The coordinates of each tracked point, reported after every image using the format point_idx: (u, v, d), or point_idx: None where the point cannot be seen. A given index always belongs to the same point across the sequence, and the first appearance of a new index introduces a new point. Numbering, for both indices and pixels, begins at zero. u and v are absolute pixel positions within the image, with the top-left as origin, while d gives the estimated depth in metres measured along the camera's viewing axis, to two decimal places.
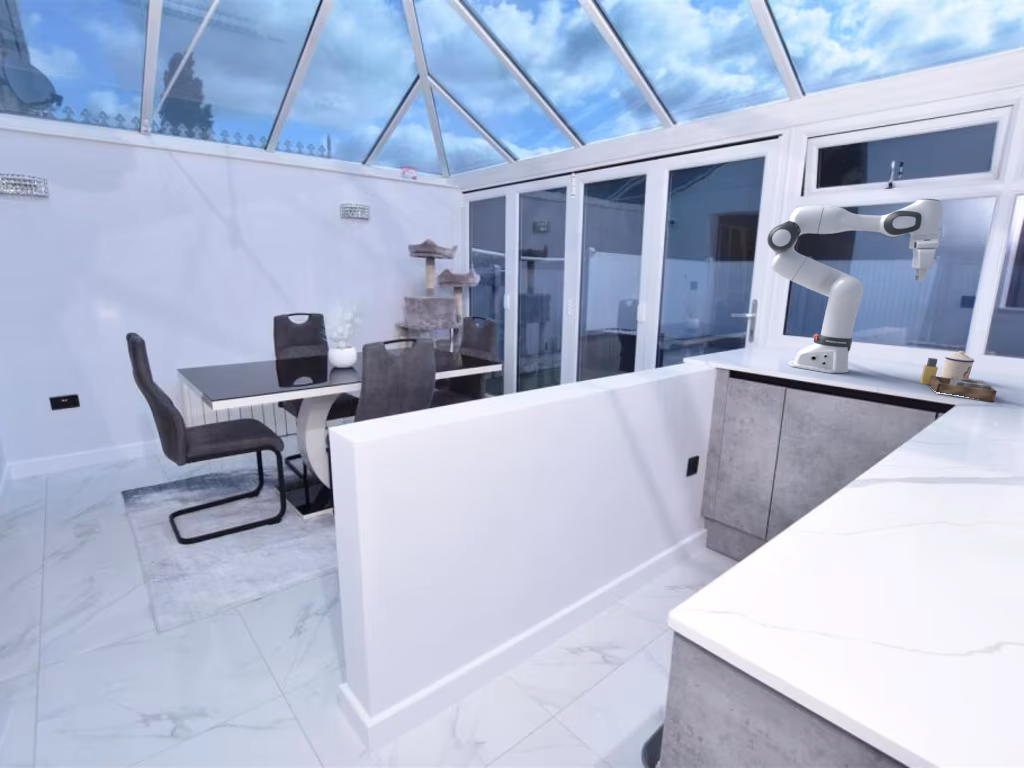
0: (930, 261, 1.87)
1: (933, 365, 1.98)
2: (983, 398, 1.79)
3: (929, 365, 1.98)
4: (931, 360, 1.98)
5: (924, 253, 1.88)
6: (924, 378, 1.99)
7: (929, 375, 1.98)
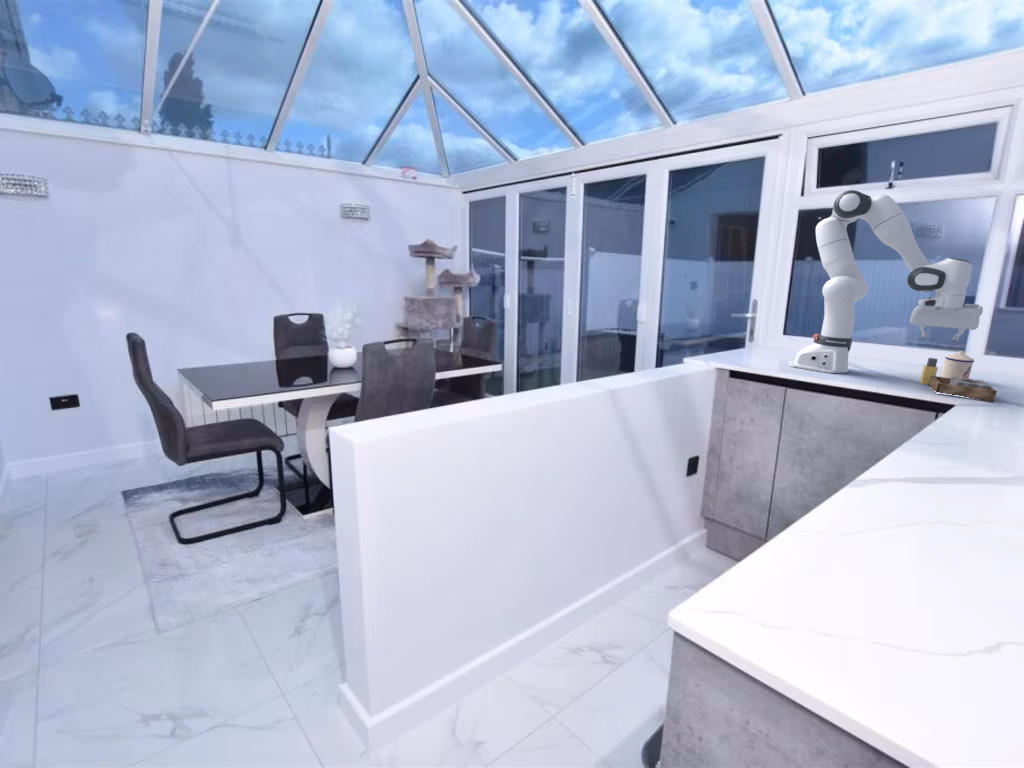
0: (912, 317, 1.98)
1: (933, 365, 1.98)
2: (983, 398, 1.79)
3: (929, 365, 1.98)
4: (931, 360, 1.98)
5: (914, 309, 1.98)
6: (924, 378, 1.99)
7: (929, 375, 1.98)
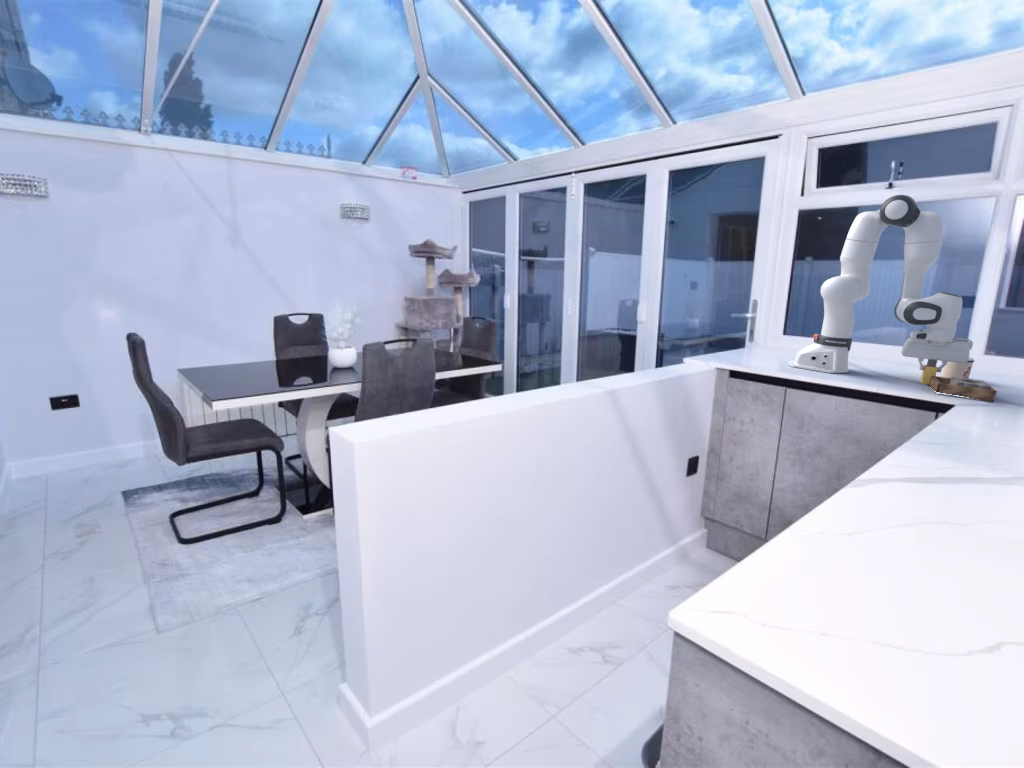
0: (903, 349, 2.01)
1: (933, 365, 1.98)
2: (983, 398, 1.79)
3: (929, 365, 1.98)
4: (931, 360, 1.98)
5: (905, 341, 2.02)
6: (924, 378, 1.99)
7: (929, 375, 1.98)
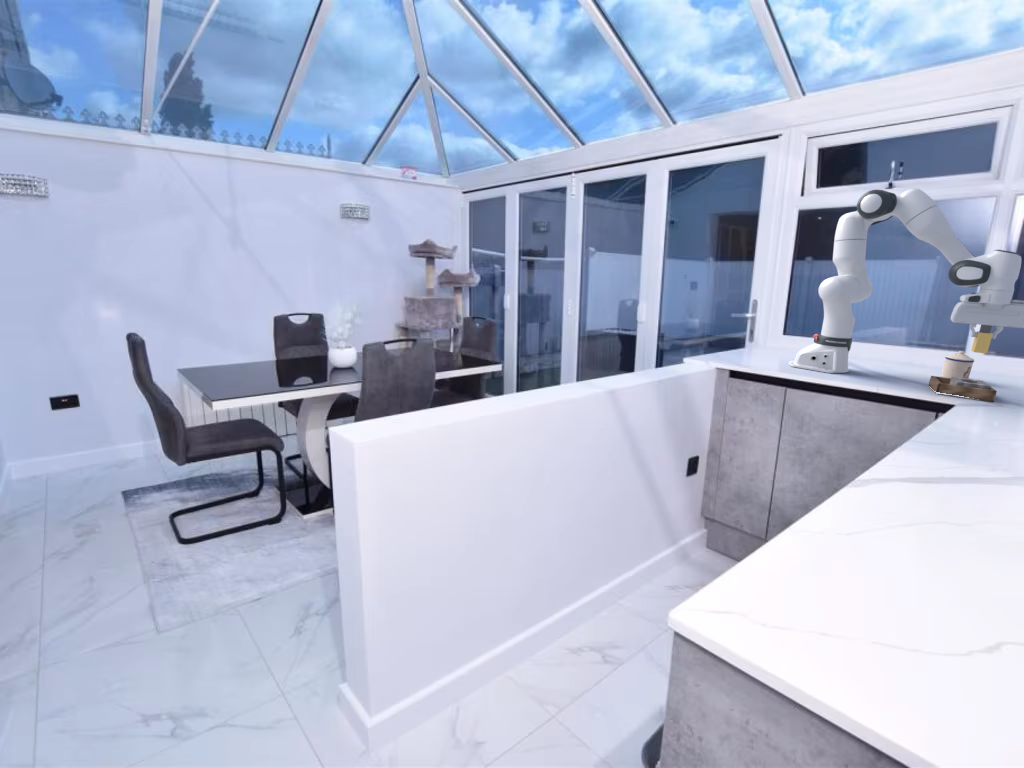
0: (953, 314, 1.83)
1: (987, 331, 1.79)
2: (983, 398, 1.79)
3: (982, 331, 1.80)
4: (985, 325, 1.79)
5: (955, 306, 1.84)
6: (977, 346, 1.81)
7: (982, 342, 1.80)
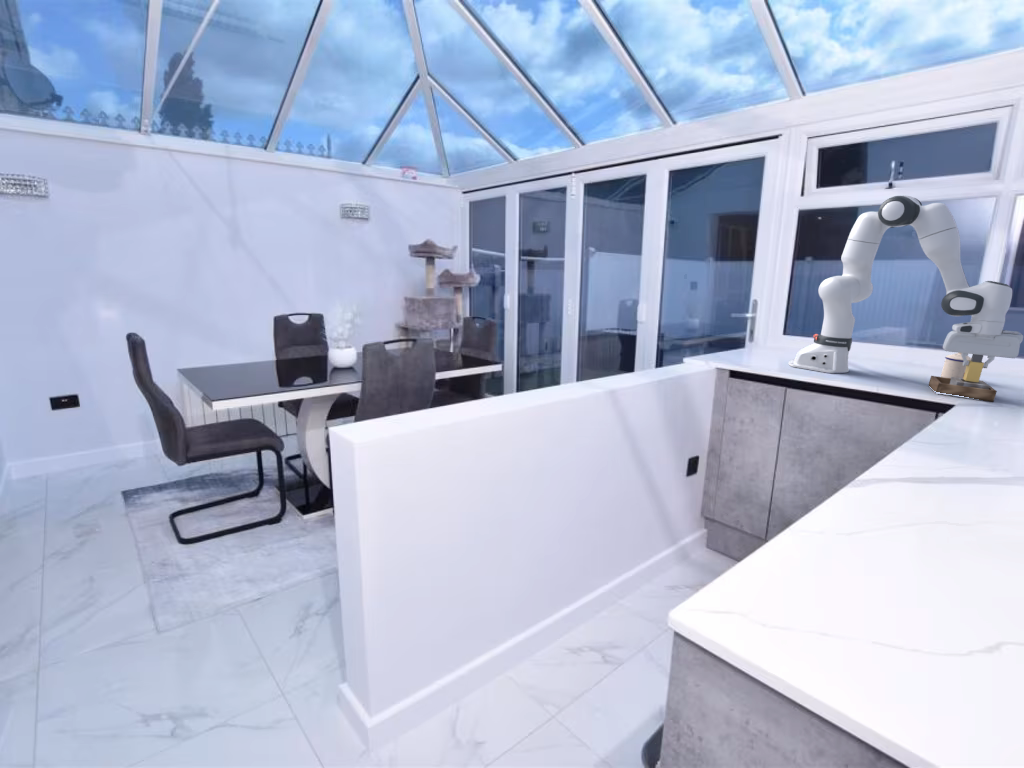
0: (945, 343, 1.86)
1: (979, 360, 1.82)
2: (983, 398, 1.79)
3: (974, 360, 1.83)
4: (976, 355, 1.82)
5: (948, 335, 1.86)
6: (968, 374, 1.84)
7: (974, 371, 1.83)
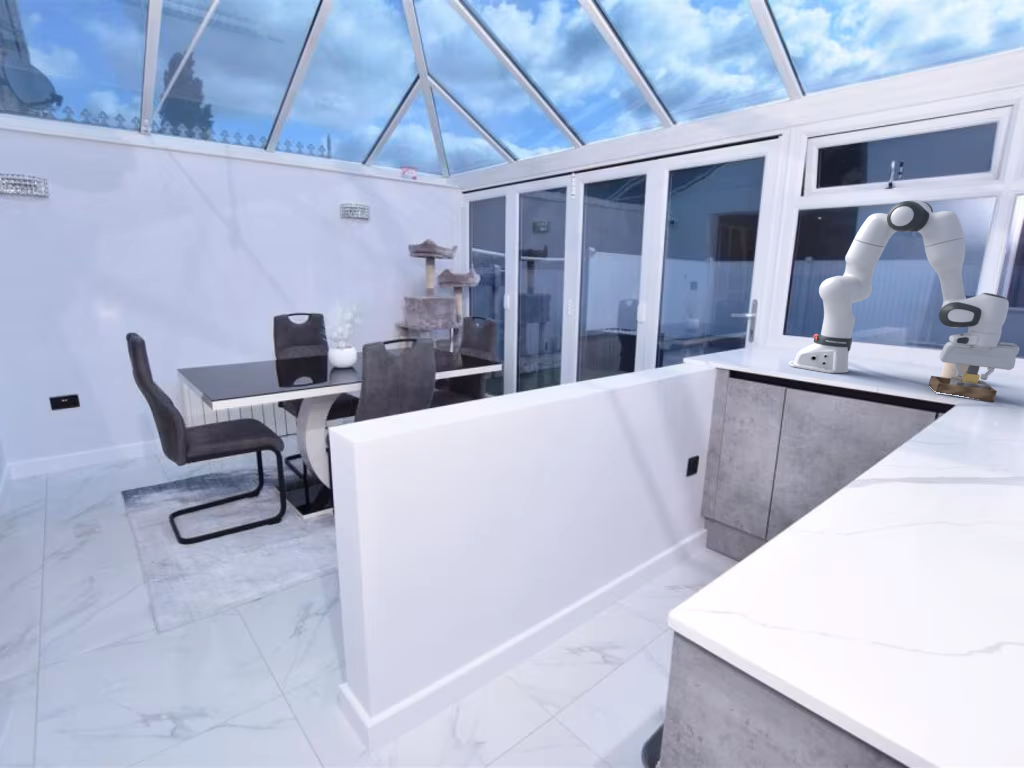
0: (942, 354, 1.87)
1: (975, 373, 1.83)
2: (983, 398, 1.79)
3: (970, 372, 1.84)
4: (972, 367, 1.83)
5: (944, 346, 1.87)
6: None
7: None
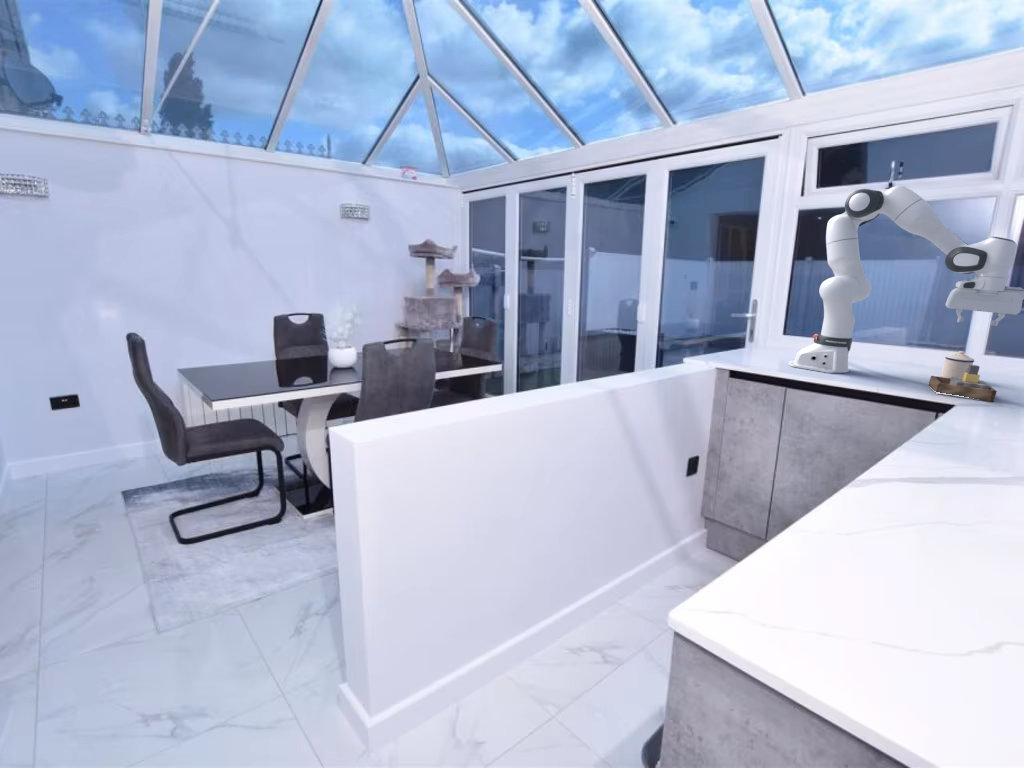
0: (948, 300, 1.86)
1: (975, 373, 1.83)
2: (983, 398, 1.79)
3: (970, 372, 1.84)
4: (972, 367, 1.83)
5: (951, 292, 1.87)
6: None
7: None
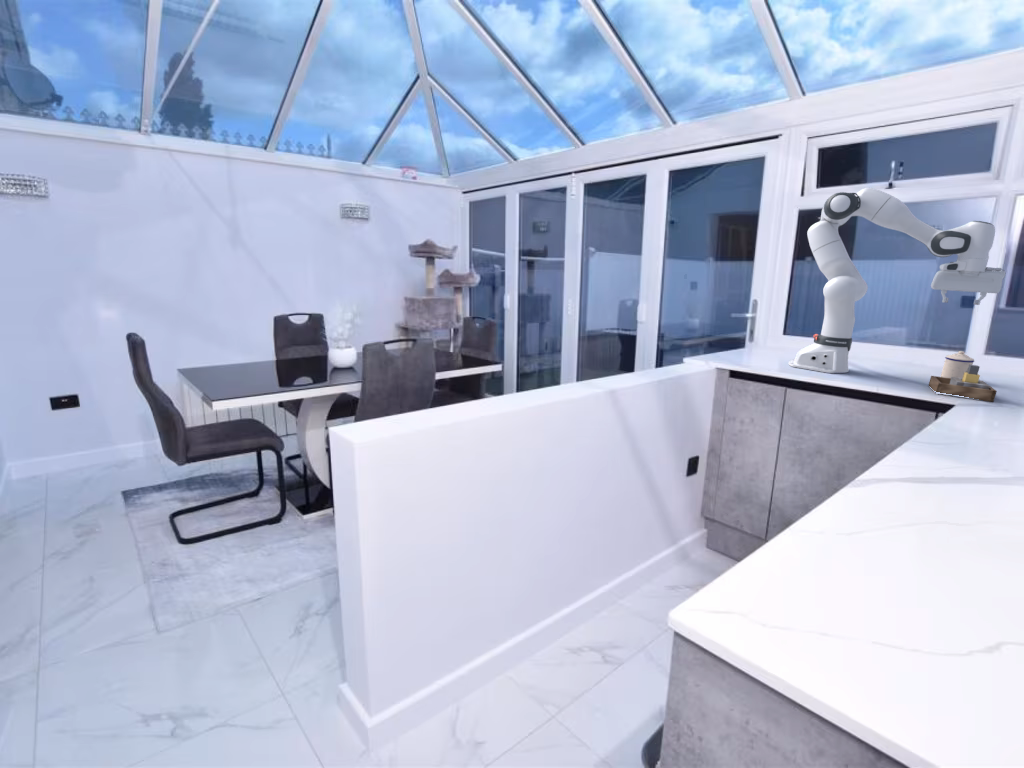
0: (933, 281, 1.98)
1: (975, 373, 1.83)
2: (983, 398, 1.79)
3: (970, 372, 1.84)
4: (972, 367, 1.83)
5: (935, 274, 1.98)
6: None
7: None
